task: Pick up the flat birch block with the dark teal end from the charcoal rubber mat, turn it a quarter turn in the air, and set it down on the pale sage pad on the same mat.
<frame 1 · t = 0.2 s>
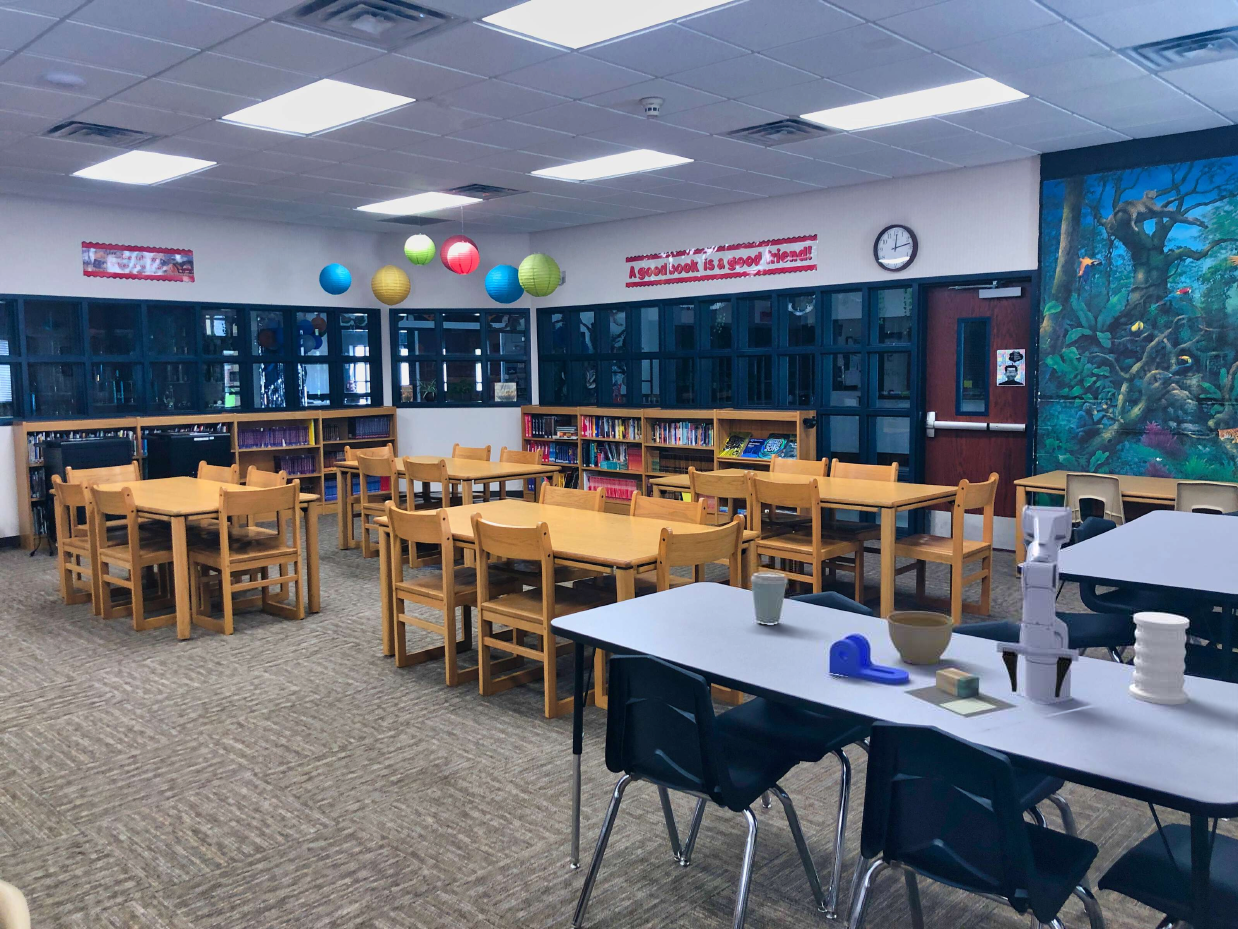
hand: (1035, 694, 187), 10 cm above the table, tool pointing down, fingers open, 7 cm apart
decorative container: (1157, 697, 217), on the table
birch block: (957, 691, 220), resting on rubber mat
rubber mat: (958, 700, 215), on the table
bracket: (871, 678, 233), on the table
disposable coffee cup: (768, 623, 284), on the table
planter bowl: (919, 661, 246), on the table
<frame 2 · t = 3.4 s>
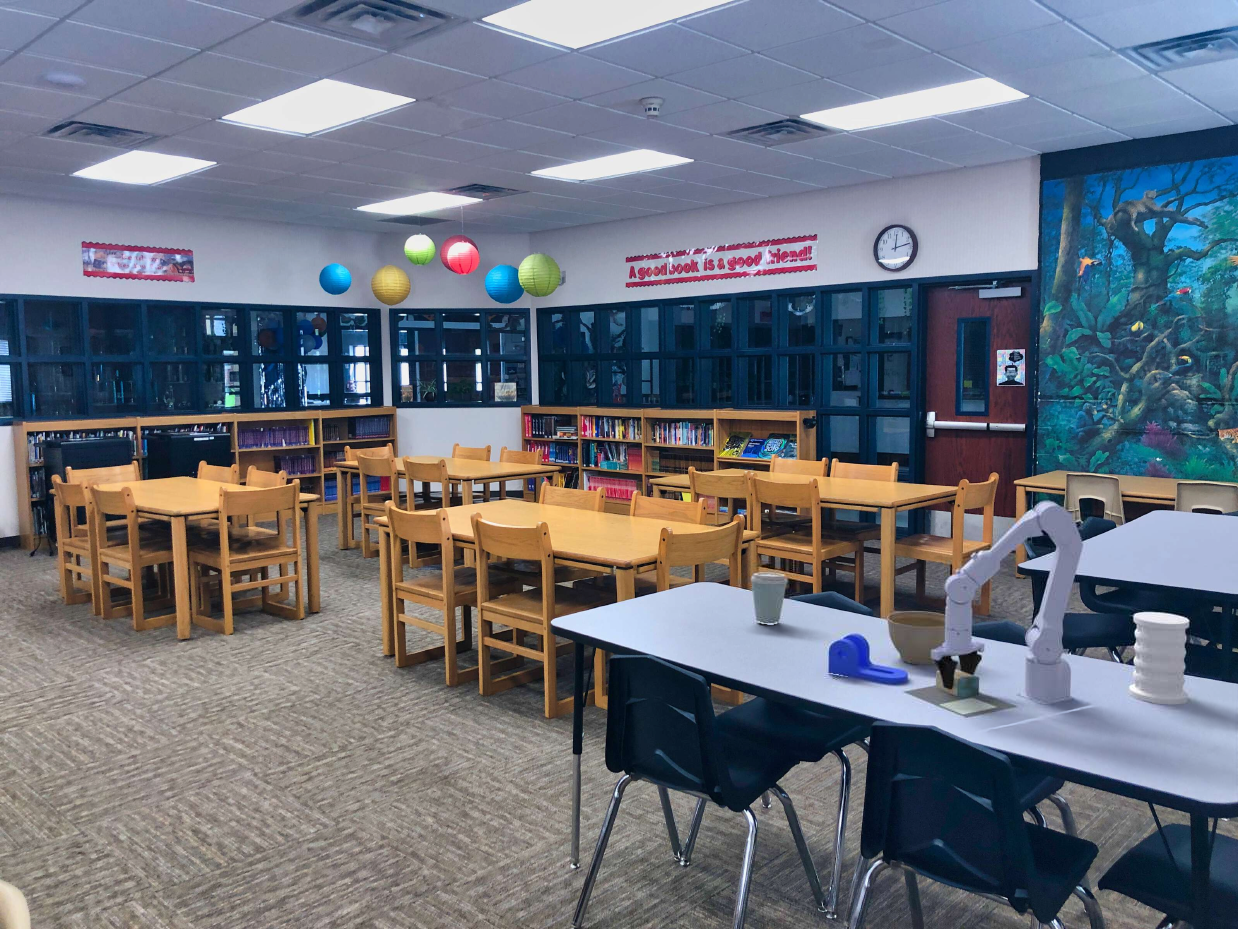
hand: (957, 686, 220), 2 cm above the table, tool pointing down, fingers closed on birch block, 5 cm apart
birch block: (957, 691, 220), resting on rubber mat, touching gripper
everything else where it was.
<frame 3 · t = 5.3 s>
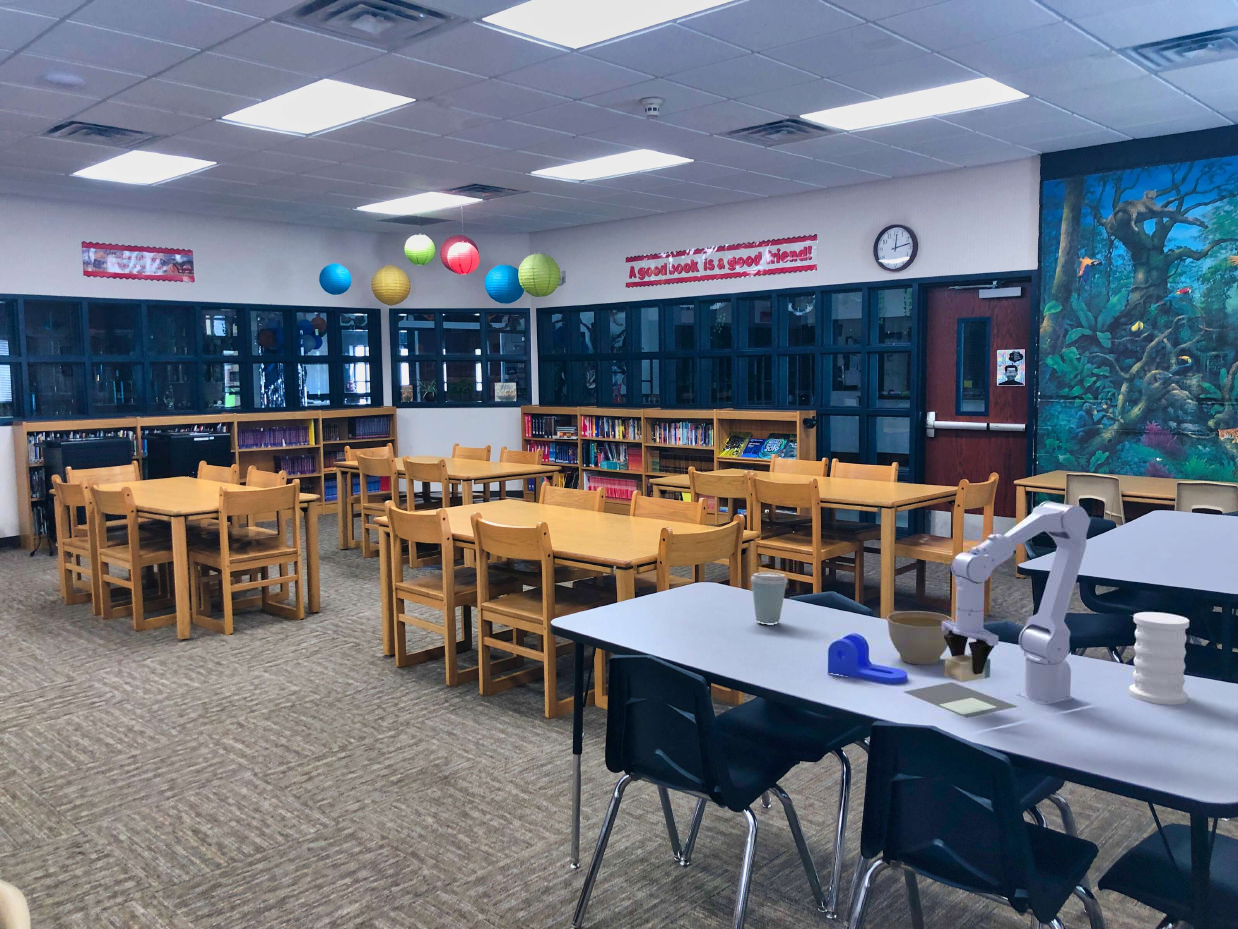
hand: (968, 670, 209), 8 cm above the table, tool pointing down, fingers closed on birch block, 5 cm apart
birch block: (967, 676, 209), point 7 cm above the table, touching gripper
everything else where it was.
when the fingers open (3 cm above the table, at t = 7.3 s): birch block stays where it is, resting on rubber mat.
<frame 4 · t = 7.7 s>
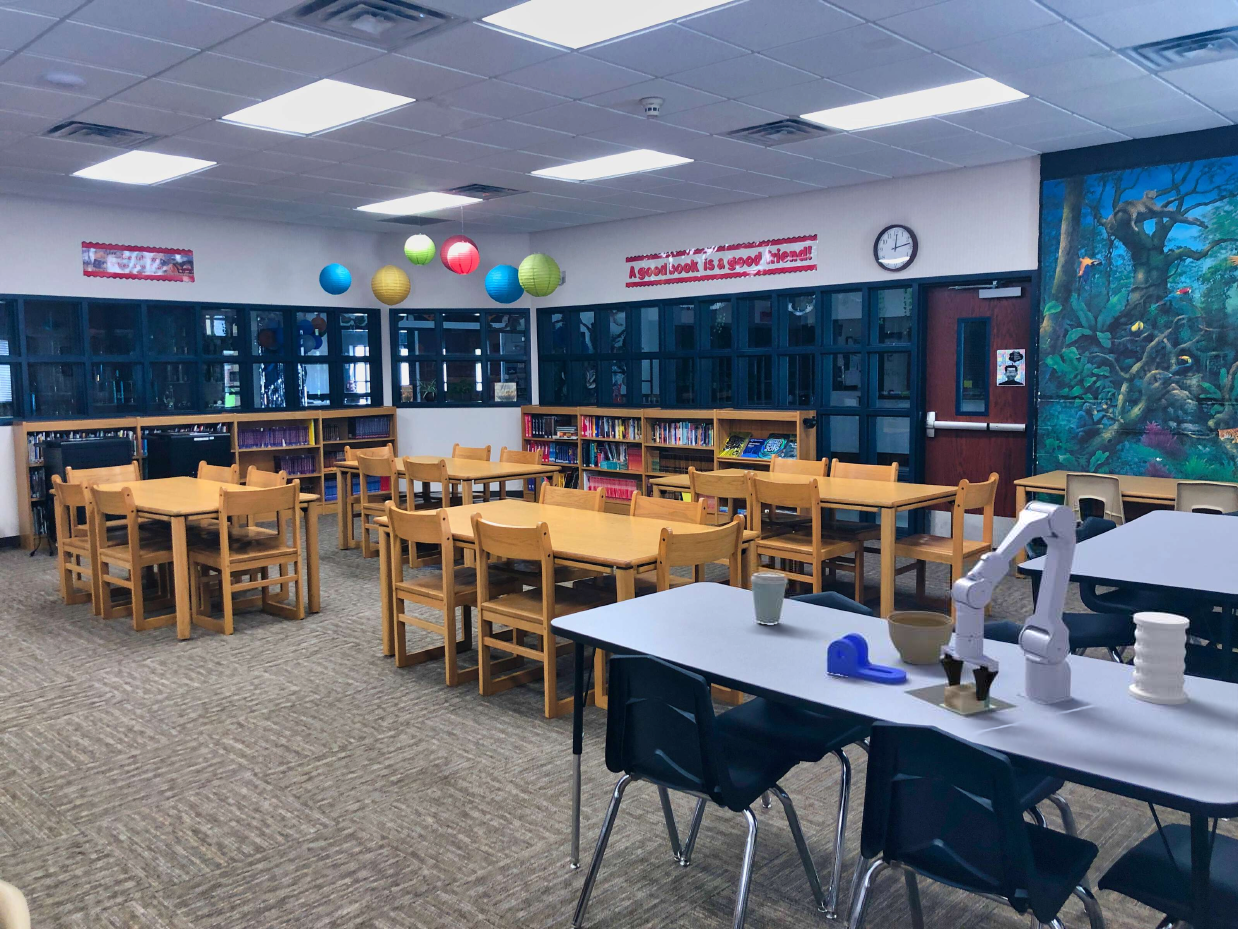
hand: (968, 695, 210), 3 cm above the table, tool pointing down, fingers open, 7 cm apart
birch block: (966, 706, 210), point 1 cm above the table, touching rubber mat
everything else where it was.
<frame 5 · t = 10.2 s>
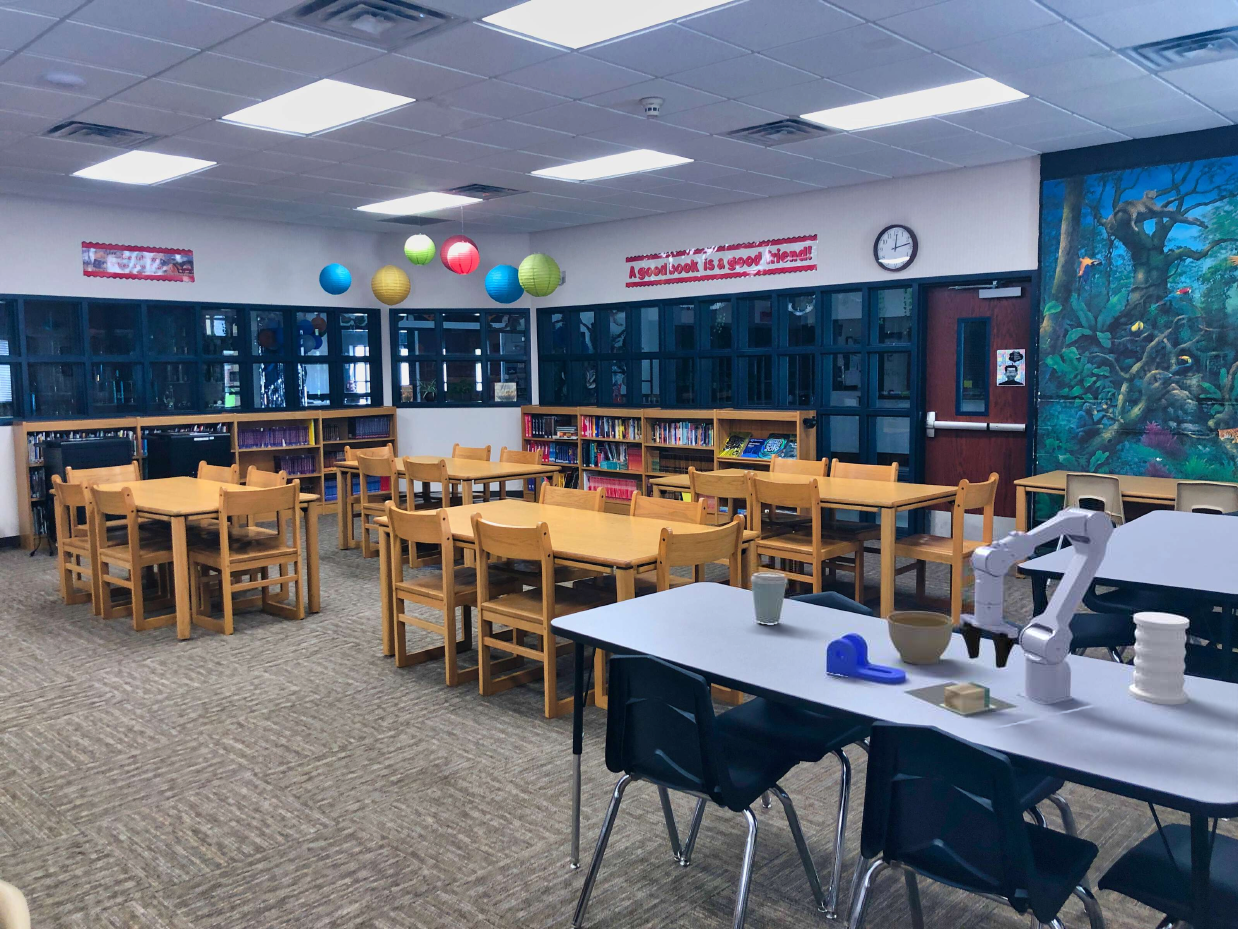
hand: (987, 662, 212), 9 cm above the table, tool pointing down, fingers open, 7 cm apart
nothing on the table moved.
at the end: birch block 0.3 cm from the target spot on the rubber mat, point 0.5 cm above the rubber mat's base; birch block tilted 0°; the gripper is holding nothing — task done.
